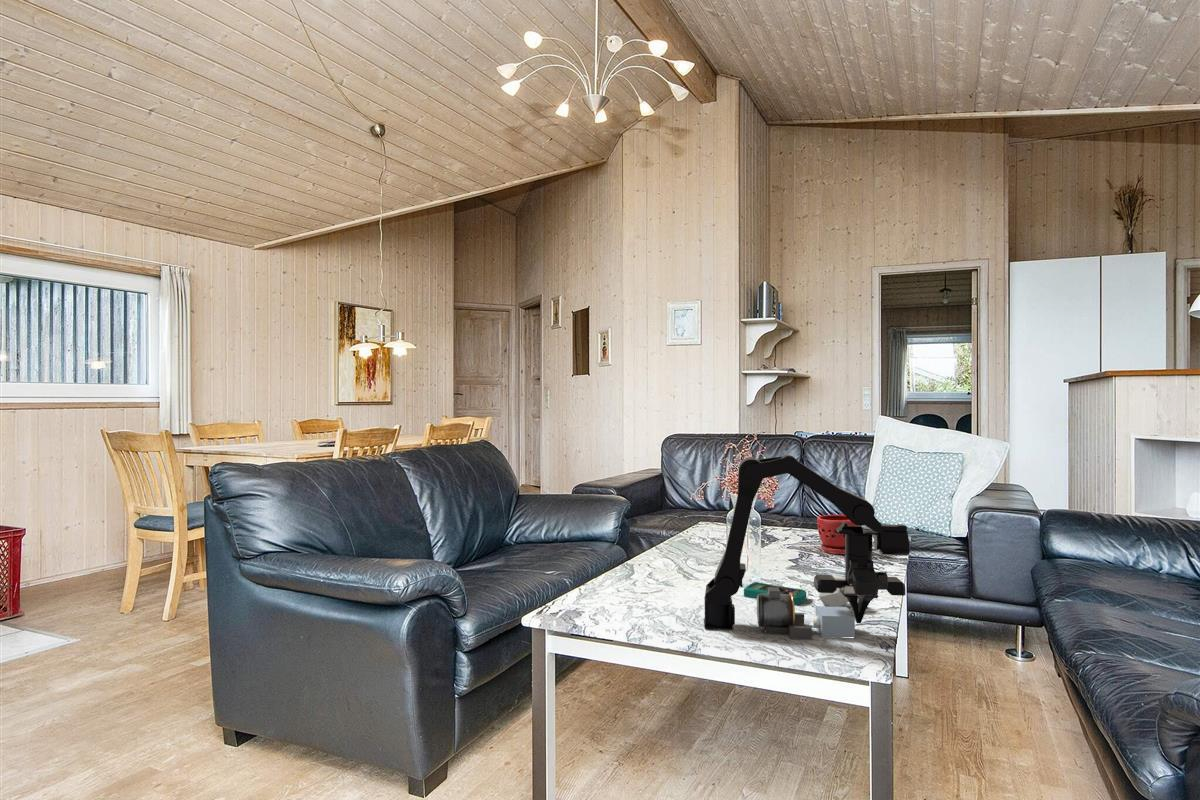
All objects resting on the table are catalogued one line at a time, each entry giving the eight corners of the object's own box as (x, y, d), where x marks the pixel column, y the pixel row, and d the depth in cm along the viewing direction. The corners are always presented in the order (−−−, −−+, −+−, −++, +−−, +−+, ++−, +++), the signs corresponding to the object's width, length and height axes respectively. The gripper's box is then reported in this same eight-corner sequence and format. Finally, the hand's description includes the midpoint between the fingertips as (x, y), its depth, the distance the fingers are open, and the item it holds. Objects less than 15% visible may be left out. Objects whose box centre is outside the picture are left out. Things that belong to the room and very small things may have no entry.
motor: (760, 636, 156) (760, 594, 156) (756, 623, 164) (756, 583, 164) (795, 637, 155) (794, 595, 155) (789, 624, 163) (789, 584, 163)
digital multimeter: (799, 607, 178) (799, 595, 178) (742, 597, 186) (742, 586, 186) (809, 600, 184) (809, 589, 184) (753, 591, 193) (753, 580, 193)
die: (826, 601, 183) (807, 574, 181) (856, 588, 180) (838, 560, 178) (830, 622, 176) (811, 594, 174) (862, 608, 173) (843, 580, 171)
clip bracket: (790, 639, 154) (790, 627, 154) (783, 622, 164) (783, 612, 164) (811, 639, 153) (811, 628, 153) (803, 623, 164) (803, 612, 164)
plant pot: (848, 547, 245) (848, 513, 245) (864, 555, 232) (864, 519, 232) (811, 548, 244) (811, 513, 244) (826, 556, 231) (826, 520, 231)
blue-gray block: (817, 638, 155) (817, 615, 155) (811, 627, 162) (811, 606, 162) (854, 639, 154) (854, 616, 154) (846, 628, 161) (846, 606, 161)
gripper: (823, 560, 150) (822, 633, 150) (913, 563, 148) (913, 637, 148) (813, 549, 161) (813, 616, 161) (897, 551, 159) (897, 620, 159)
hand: (858, 622), depth 157 cm, fingers closed
